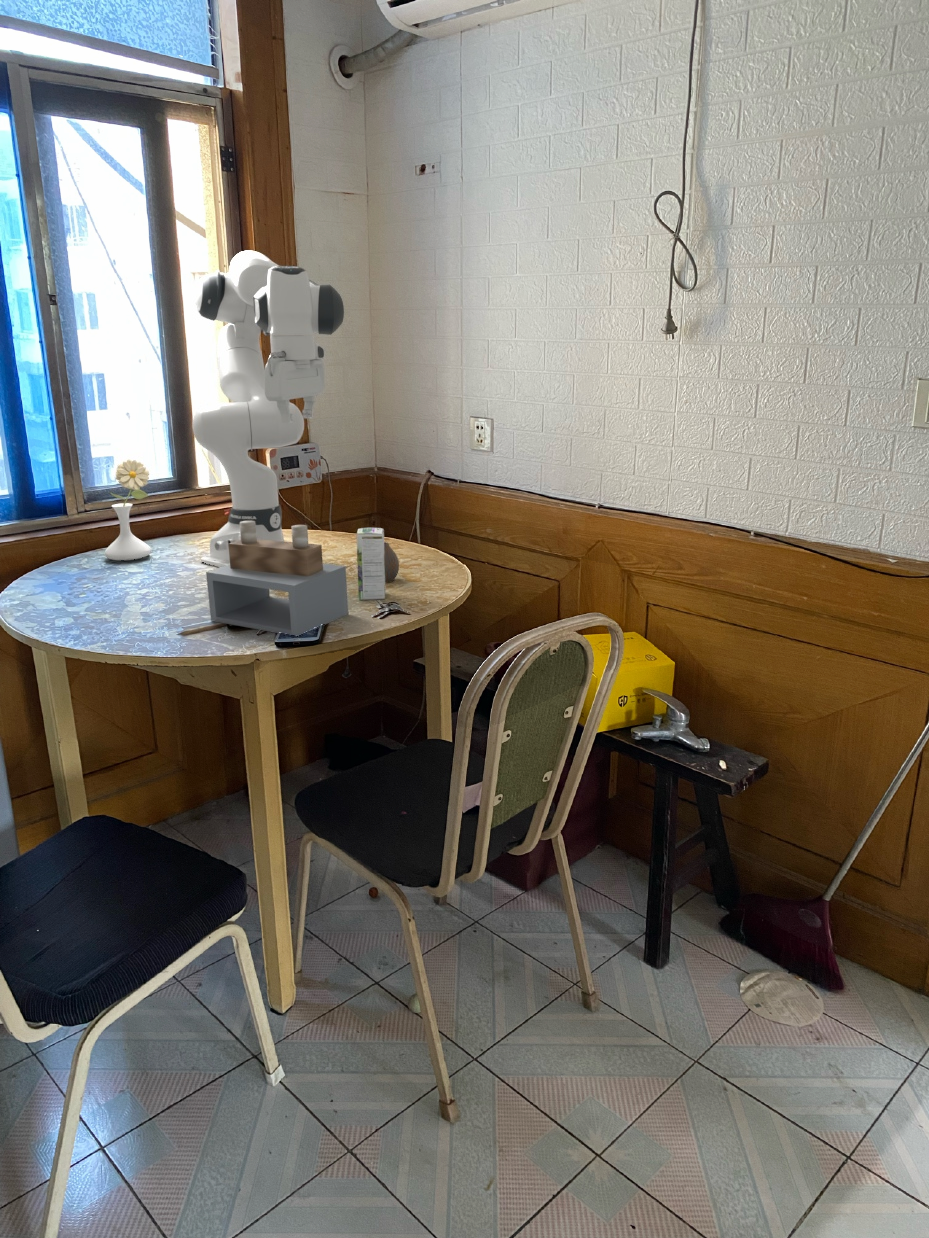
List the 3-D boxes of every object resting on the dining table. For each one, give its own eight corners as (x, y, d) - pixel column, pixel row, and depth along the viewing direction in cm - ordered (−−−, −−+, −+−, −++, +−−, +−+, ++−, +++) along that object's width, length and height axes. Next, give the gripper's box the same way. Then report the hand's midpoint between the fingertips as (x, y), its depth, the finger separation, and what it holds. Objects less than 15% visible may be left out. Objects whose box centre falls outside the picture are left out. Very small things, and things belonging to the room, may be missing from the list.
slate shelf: (211, 620, 182) (206, 572, 179) (264, 600, 195) (260, 554, 192) (297, 636, 172) (294, 585, 169) (348, 614, 185) (345, 566, 182)
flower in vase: (102, 565, 227) (88, 464, 219) (108, 555, 237) (95, 458, 230) (157, 561, 229) (145, 461, 222) (160, 551, 240) (149, 455, 232)
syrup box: (359, 593, 200) (355, 527, 195) (386, 592, 200) (383, 527, 196) (358, 600, 194) (355, 533, 190) (386, 599, 195) (383, 532, 190)
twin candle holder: (230, 568, 182) (226, 523, 179) (247, 562, 186) (243, 518, 184) (308, 576, 175) (304, 530, 172) (323, 569, 180) (320, 524, 177)
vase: (395, 585, 206) (393, 547, 203) (365, 583, 207) (363, 546, 204) (403, 577, 212) (401, 540, 210) (374, 576, 214) (372, 539, 211)
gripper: (283, 352, 175) (288, 425, 179) (328, 349, 193) (332, 416, 198) (253, 352, 177) (259, 425, 181) (301, 349, 195) (306, 415, 199)
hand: (297, 420), depth 189 cm, fingers open, 8 cm apart
